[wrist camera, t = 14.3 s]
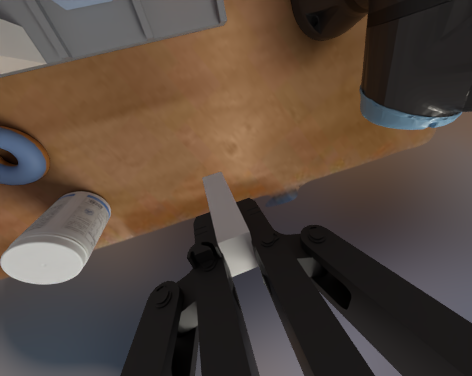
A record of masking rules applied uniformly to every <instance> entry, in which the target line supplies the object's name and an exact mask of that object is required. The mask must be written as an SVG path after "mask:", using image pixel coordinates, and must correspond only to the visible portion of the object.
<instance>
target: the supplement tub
mask: <svg viewBox="0 0 472 376" xmlns="http://www.w3.org/2000/svg"><path fill="white" fill-rule="evenodd" d="M110 215H111V209H110V206H109V204H108V203H107V202H106V201H105V200H104V199H103V198H102V197H100V196H98V195H96V194H93V193H90V192H84V191H77V192H71V193H68V194H65V195H63V196H62V197H60V198H59V199H58V200H57V201H56V202H55V203H54V204H53V205H52V206H51V207H50V208H49V209H48V210H46V211H45V212H44V213H43V214H42V215H41V216H40V217H39V218H38V219H37V220H36V221H35V222H34V223H33V224H32V225H31V226H30V227H29V228H27V229H26V230H25V231H24V232H23V233H22V234H21V235H20V236H19V237H18V238H17V239H16V240H15V241H14V242H13V243H12V244H11V245H10V246H9V247H8V249H7V250H6V251H5V252H4V253H3V255H2V256H1V259H0V264H1V267H2V269H3V270H4V271H5V272H6V273H7V274H8V275H10V276H11V277H13V278H15V279H17V280H20V281H23V282H27V283H33V284H55V283H60V282H64V281H66V280H69V279H71V278H73V277H75V276H76V275H77V274H79V272H80V271H81V270H82V268H83V267H84V265H85V264H86V262H87V260H88V258H89V257H90V255H91V253H92V251H93V249H94V247H95V245H96V243H97V241H98V239H99V237H100V235H101V234H102V232H103V230H104V228H105V226H106V224H107V222H108V220H109V218H110Z"/></svg>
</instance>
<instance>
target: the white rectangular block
mask: <svg viewBox="0 0 472 376" xmlns="http://www.w3.org/2000/svg"><path fill="white" fill-rule="evenodd" d="M44 64H47V63H46V62H45V60H44V59H43V57H42V56H41V54H40V53H39V51H38V50H37V48H36V47H35V45H34V44H33V42H32V41H31V39H30V38H29V36H28V35H27V33H26V32H25V30H24V29H23V27H21V26H18V25H16V24H13V23H10V22H8V21H5V20H2V19H0V74H5V73H9V72H13V71H18V70H22V69H26V68H31V67H35V66H39V65H44Z"/></svg>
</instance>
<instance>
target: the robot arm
mask: <svg viewBox="0 0 472 376" xmlns="http://www.w3.org/2000/svg"><path fill="white" fill-rule="evenodd" d="M291 3H292V9H293V13H294V16H295V19H296V21H297V23H298V25H299V27H300V28H301V30H302V31H303V32H304V33H305V34H306V35H307V36H308V37H310V38H312V39H314V40H318V41H324V40H328V39H332V38H335V37H337V36H340V35H342V34H343V33H345V32H346V31H348V30H349V29H350V28H351V27H353V26H354V25H355V24H356V23H357V22H358V21H360V20H361V19H362V18H363V17H364V16H365V15H367V14H368V19H367V28H366V39H365V51H364V62H363V73H362V82H361V85H360V94H361V103H360V110H361V113H362V115H363V116H364V117H365V118H366V119H368V121H370V122H372V123H374V124H377V125H380V126H384V127H389V128H395V129H408V130H415V129H425V128H427V127H432V128H435V127H440V126H444V125H446V124H448V123H451V122H453V121H454V120H455V119H456V118H457V117H459V116H460V115H461V114H462V112H469V111H472V0H291ZM202 179H203V183H204V187H205V192H206V196H207V200H208V205H209V209H210V212H209V213H206V214H203V215H201V216H198V217H196V219H195V221H194V235H195V244H194V245H193V246H192V247H191V249H190V250H189V252H188V255H187V259H188V260H189V262H190V264H191V265H192V267H193V269H192V270H191V271H190V273H189V274H187V275H186V276H185V277H184V278H182V279H181V280H180V281H178V282H177V283H175V282H173V281H167V282H164V283H162V284H160V285H159V286H157V287H156V288H155V289H154V291H153V292H152V293H151V294H150V296H149V298H148V300H147V303H146V306H145V309H144V312H143V314H142V317H141V320H140V322H139V325H138V328H137V331H136V334H135V336H134V339H133V342H132V345H131V348H130V350H129V353H128V356H127V359H126V362H125V364H124V367H123V370H122V373H121V376H195V370H196V361H197V352H198V343H199V345H200V358H201V372H202V376H259V372H258V368H257V365H256V361H255V358H254V354H253V350H252V346H251V343H250V339H249V335H248V332H247V328H246V324H245V321H244V317H243V313H242V310H241V306H240V303H239V299H238V295H237V292H236V288H235V286H234V283H233V281H232V277H233V276H236V275H238V274H241V273H243V272H246V271H248V270H251V269H253V268H256V267H258V265H259V267H260V270H261V273H262V277H263V281H264V284H266V286H267V289H268V291H269V293H270V296H271V298H272V301H273V303H274V305H275V308H276V310H277V312H278V314H279V317H280V319H281V322H282V324H283V326H284V329H285V331H286V333H287V336H288V338H289V341H290V343H291V345H292V348H293V350H294V352H295V354H296V357H297V359H298V362H299V364H300V366H301V369H302V371H303V374H304V376H375V375H374V373H373V372H372V370H371V369H370V367H369V366H368V365H367V363H366V361H365V360H364V359H363V357H362V356H361V354H360V353H359V351H358V350H357V348H356V347H355V345H354V344H353V342H352V341H351V339H350V338H349V336H348V335H347V333H346V332H345V330H344V329H343V327H342V326H341V324H340V323H339V321H338V320H337V318H336V317H335V315H334V314H333V312H332V311H331V309H330V308H329V306H328V305H327V303H326V302H325V300H324V299H323V297H322V296H321V294H322V295H323V296H324V297H325V298H326V299H327V300H328V301H329V302H330V303H331V304H332V305H333V306H334V307H335V308H336V309H337V310H338V311H339V312H340V313H341V314H342V315H343V316H344V317H345V318H346V319H347V320H348V321H349V322H350V323H351V324H352V325H353V326H354V327H355V328H356V329H357V330H358V331H359V332H360V333H361V334H362V335H363V336H364V337H365V338H366V339H367V340H368V341H369V342H370V343H371V344H372V345H373V346H374V347H375V348H376V349H377V350H378V351H379V352H380V353H381V354H382V355H383V356H384V357H385V359H387V360H388V362H389V363H390V364H391V365H393V367H394V368H395V369H396V370H397V371H398V372H399V373H400V374H401V375H402V376H472V323H471V322H469V321H468V320H466V319H464V318H463V317H461V316H460V315H458V314H457V313H455V312H454V311H452V310H451V309H449V308H448V307H446V306H445V305H443V304H441V303H440V302H438V301H437V300H435V299H434V298H432V297H431V296H429V295H428V294H426V293H424V292H423V291H422V290H420V289H418V288H417V287H415V286H414V285H412V284H411V283H409V282H408V281H406V280H405V279H403V278H401V277H400V276H399V275H397V274H396V273H394V272H392V271H391V270H389V269H388V268H386V267H385V266H383V265H382V264H380V263H379V262H377V261H376V260H374V259H373V258H371V257H369V256H368V255H366V254H365V253H363V252H362V251H360V250H359V249H357V248H356V247H354V246H353V245H351V244H350V243H348V242H346V241H345V240H343V239H342V238H340V237H339V236H337V235H336V234H334V233H333V232H331V231H330V230H328V229H327V228H324V227H322V226H319V225H309V226H307V227H305V228H303V230H302V231H301V234H293V235H284V234H280V233H278V232H277V231H275V230H274V229H273V228H272V227H271V225H270V224H269V222H268V220H267V219H266V217H265V216H264V214H263V213H262V212H261V210H260V208H259V207H258V205H257V204H256V202H255V201H254V200H252V199H250V198H247V199H244V200H241V201H239V202H235V200H234V198H233V195H232V193H231V191H230V189H229V187H228V185H227V183H226V181H225V179H224V176H223V174H222V172H218V173H215V174H212V175H209V176H206V177H203V178H202ZM319 292H320V293H321V294H320V293H319Z"/></svg>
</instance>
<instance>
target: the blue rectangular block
mask: <svg viewBox="0 0 472 376" xmlns="http://www.w3.org/2000/svg"><path fill="white" fill-rule="evenodd" d="M52 1H54V2H55V3H57V4H58V5H60V6H61V7H63V8H64V9H65V10H70V9H75V8H80V7H85V6H90V5H95V4H100V3H105V2H110V1H113V0H52Z"/></svg>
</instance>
